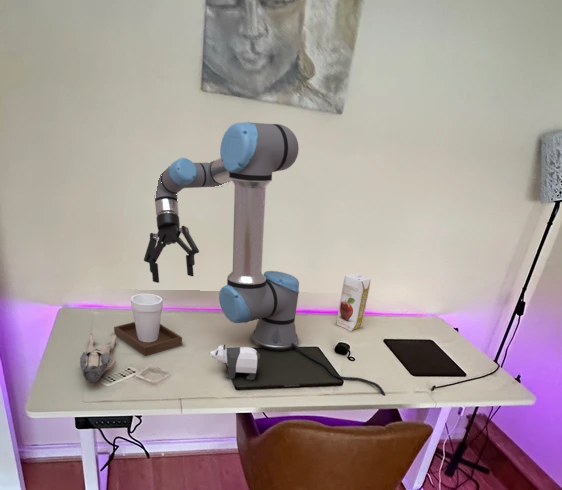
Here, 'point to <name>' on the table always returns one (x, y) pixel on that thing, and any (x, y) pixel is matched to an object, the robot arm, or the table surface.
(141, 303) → the foam cup
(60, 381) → the table surface
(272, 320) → the robot arm
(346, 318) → the juice carton
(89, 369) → the anime figure
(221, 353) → the giant panda
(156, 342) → the tray
